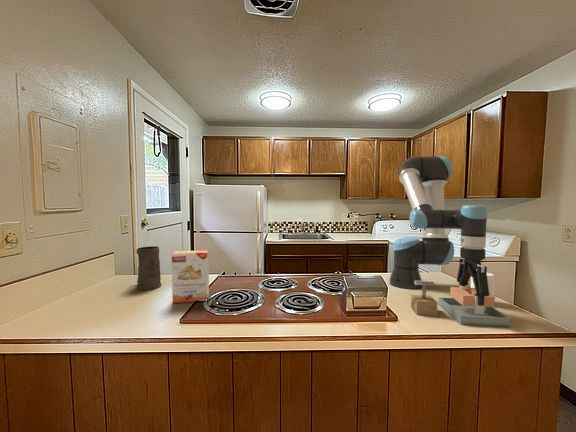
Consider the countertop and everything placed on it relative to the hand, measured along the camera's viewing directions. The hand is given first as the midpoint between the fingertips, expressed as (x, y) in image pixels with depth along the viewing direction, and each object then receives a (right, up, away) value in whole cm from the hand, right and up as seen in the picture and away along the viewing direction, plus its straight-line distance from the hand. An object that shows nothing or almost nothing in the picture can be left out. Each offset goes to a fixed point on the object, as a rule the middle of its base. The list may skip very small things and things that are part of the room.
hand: (471, 308), depth 99 cm
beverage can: (+13, -2, +12) cm, 18 cm away
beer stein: (-138, -2, +36) cm, 142 cm away
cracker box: (-108, -2, +16) cm, 109 cm away
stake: (-16, -2, +3) cm, 16 cm away
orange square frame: (0, +3, 0) cm, 3 cm away
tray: (0, -3, 0) cm, 3 cm away
